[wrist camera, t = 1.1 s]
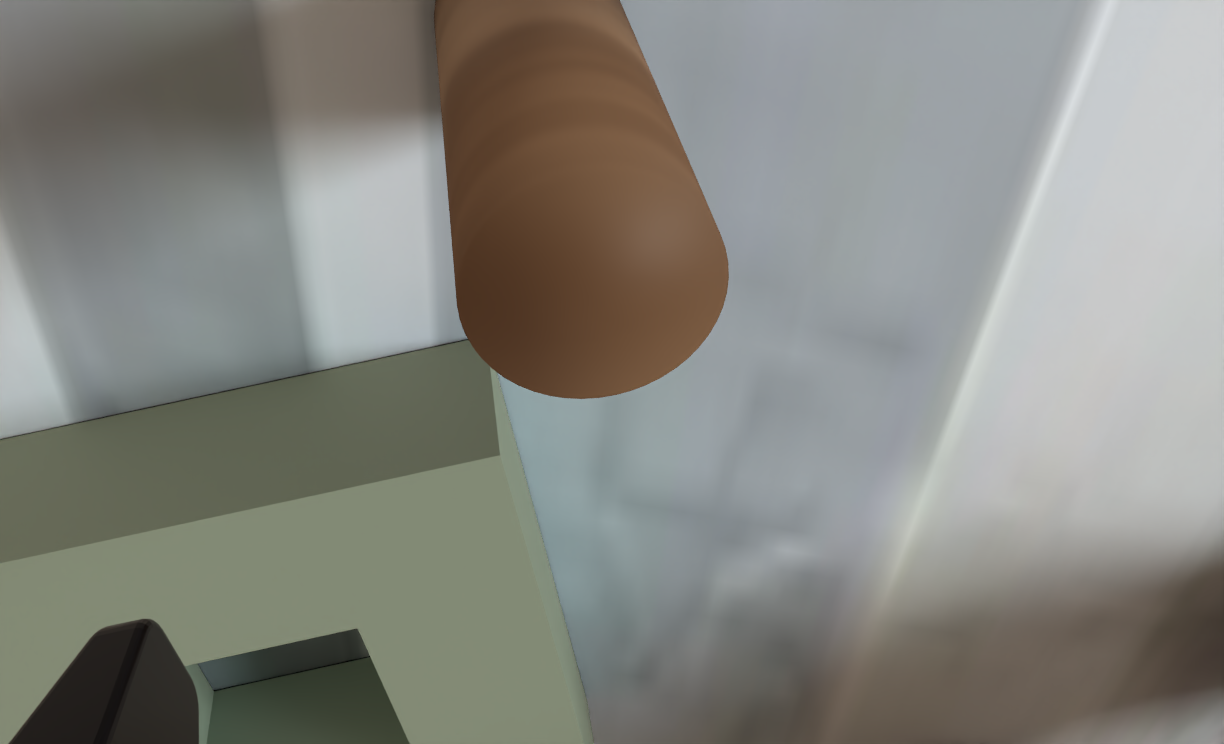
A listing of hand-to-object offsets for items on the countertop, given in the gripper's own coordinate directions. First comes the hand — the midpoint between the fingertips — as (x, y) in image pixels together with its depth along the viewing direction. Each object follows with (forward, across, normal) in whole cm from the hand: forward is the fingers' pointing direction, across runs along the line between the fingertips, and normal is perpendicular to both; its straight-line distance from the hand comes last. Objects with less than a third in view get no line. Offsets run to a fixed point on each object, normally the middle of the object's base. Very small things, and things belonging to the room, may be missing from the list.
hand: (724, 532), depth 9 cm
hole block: (+12, +8, +12) cm, 19 cm away
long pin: (+12, 0, 0) cm, 12 cm away
